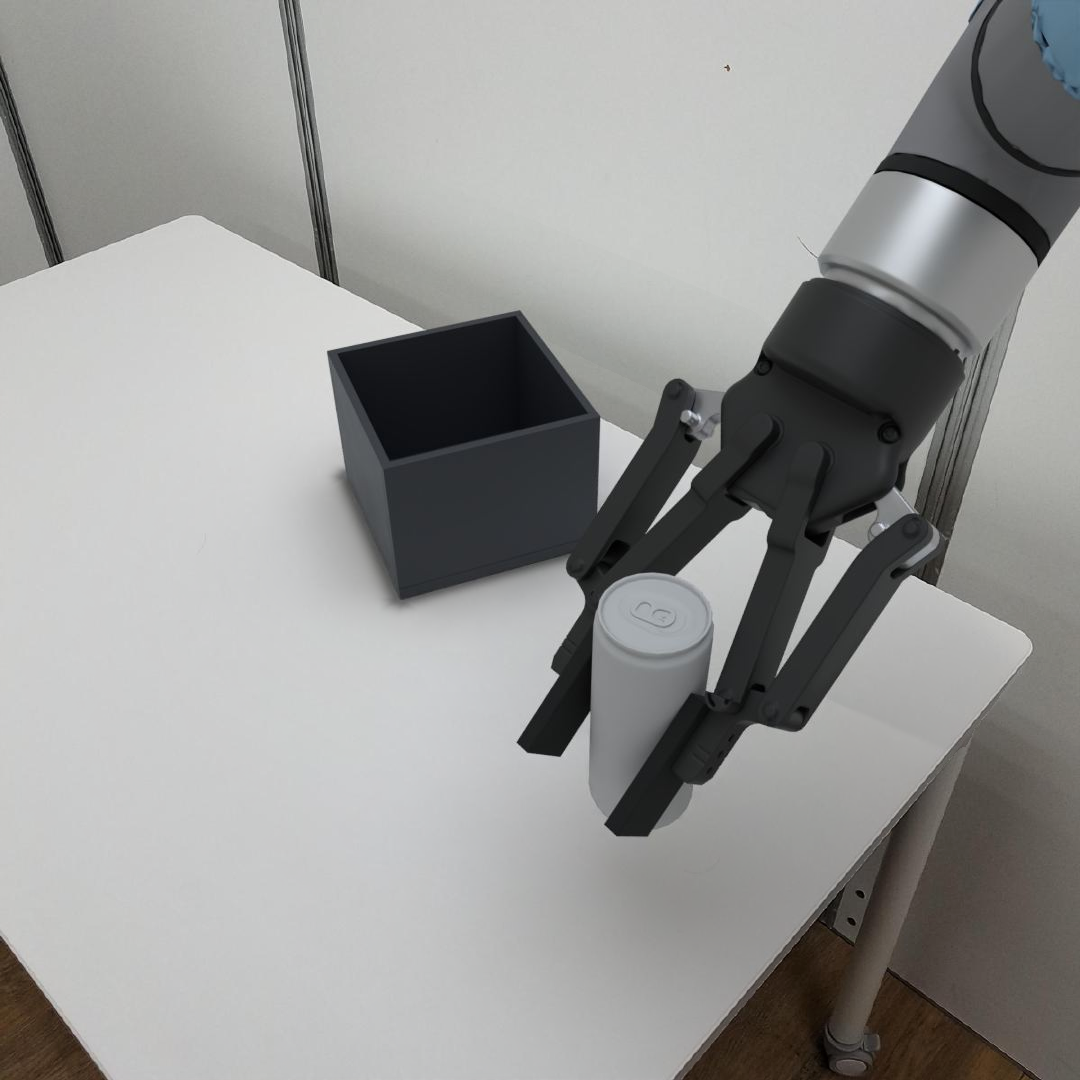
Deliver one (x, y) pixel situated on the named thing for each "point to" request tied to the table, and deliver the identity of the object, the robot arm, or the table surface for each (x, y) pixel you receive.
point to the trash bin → (466, 450)
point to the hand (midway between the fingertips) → (581, 788)
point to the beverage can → (643, 678)
